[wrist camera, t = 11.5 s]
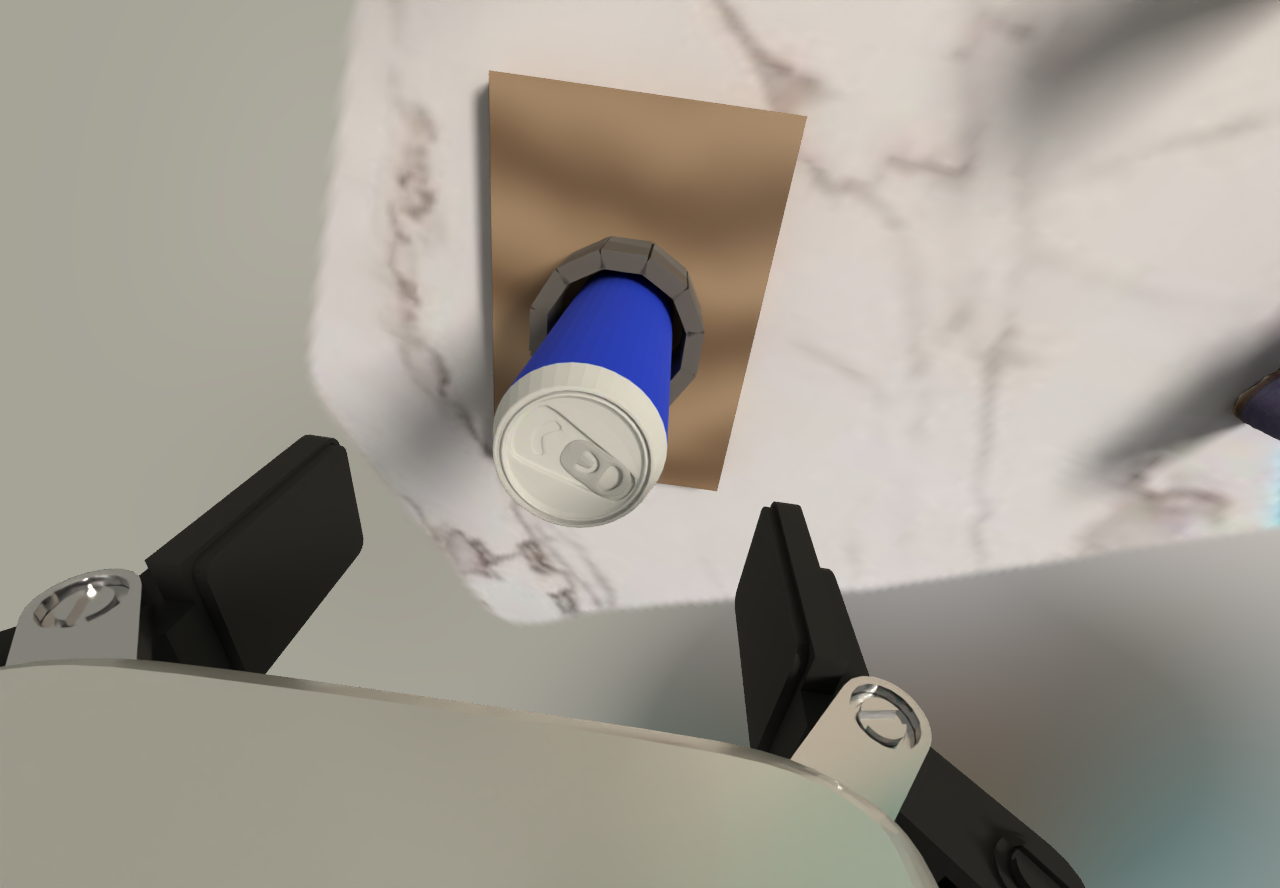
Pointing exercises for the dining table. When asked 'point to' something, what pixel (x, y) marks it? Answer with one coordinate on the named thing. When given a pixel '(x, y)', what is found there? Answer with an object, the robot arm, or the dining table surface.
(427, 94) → the dining table surface
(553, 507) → the beverage can
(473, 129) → the dining table surface
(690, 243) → the cup holder
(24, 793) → the robot arm
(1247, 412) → the flask
